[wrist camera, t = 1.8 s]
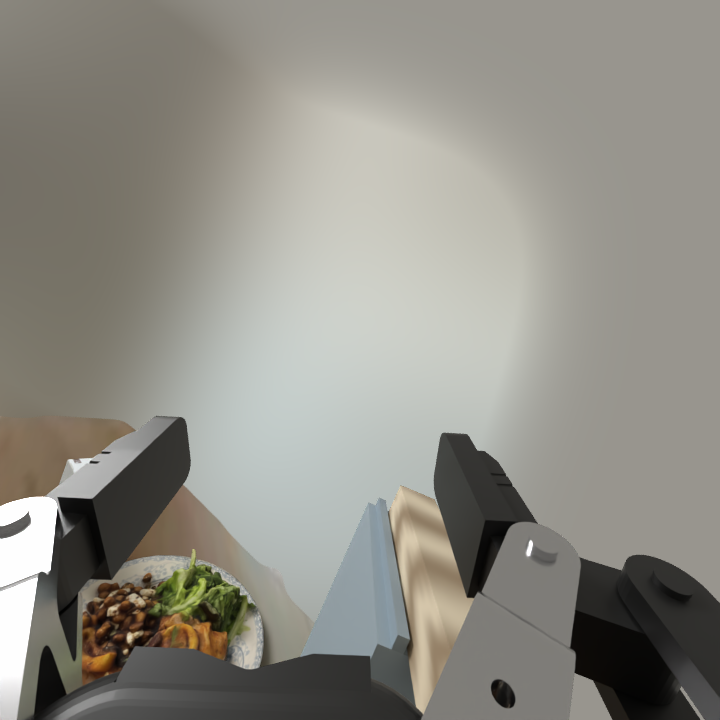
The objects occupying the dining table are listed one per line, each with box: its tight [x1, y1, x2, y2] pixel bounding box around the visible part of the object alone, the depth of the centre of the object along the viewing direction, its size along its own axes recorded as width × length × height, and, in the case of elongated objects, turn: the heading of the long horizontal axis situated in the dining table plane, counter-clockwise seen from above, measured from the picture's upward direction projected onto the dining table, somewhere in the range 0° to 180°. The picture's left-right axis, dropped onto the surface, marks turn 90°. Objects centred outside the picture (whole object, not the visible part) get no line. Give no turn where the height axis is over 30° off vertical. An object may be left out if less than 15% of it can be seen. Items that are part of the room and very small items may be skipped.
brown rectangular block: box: [388, 486, 474, 714], centre depth 23 cm, size 26×4×4 cm, turn 0°
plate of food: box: [81, 549, 264, 685], centre depth 46 cm, size 28×28×6 cm
